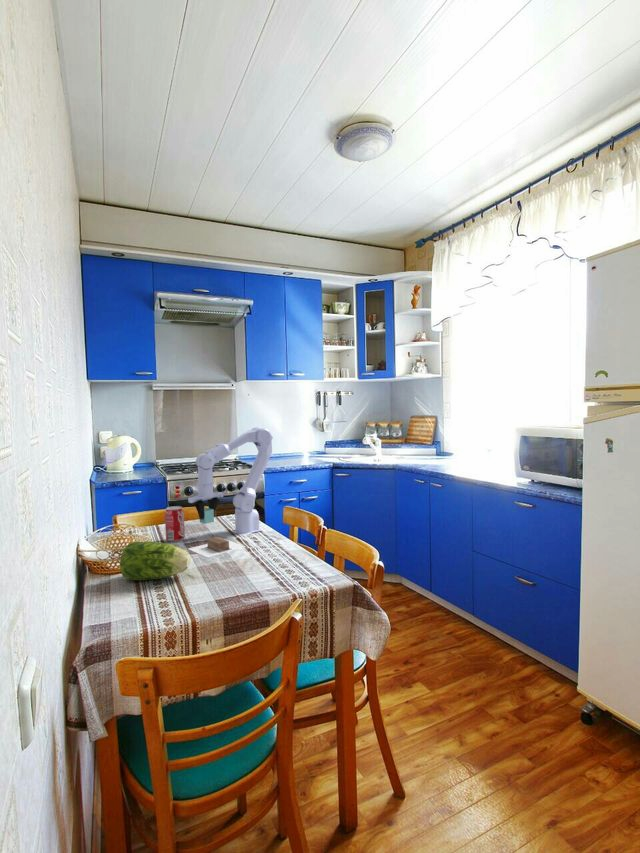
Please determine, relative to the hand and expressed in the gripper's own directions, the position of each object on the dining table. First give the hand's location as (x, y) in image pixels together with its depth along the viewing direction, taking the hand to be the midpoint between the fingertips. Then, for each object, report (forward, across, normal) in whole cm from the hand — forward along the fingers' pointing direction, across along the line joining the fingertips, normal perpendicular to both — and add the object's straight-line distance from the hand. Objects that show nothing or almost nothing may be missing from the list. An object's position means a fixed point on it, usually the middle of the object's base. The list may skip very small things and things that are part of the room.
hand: (206, 518), depth 181 cm
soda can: (+8, +10, -7) cm, 15 cm away
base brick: (+8, +5, +16) cm, 18 cm away
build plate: (+8, +5, +15) cm, 18 cm away
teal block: (+2, 0, 0) cm, 2 cm away
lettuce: (+8, +33, +26) cm, 43 cm away
